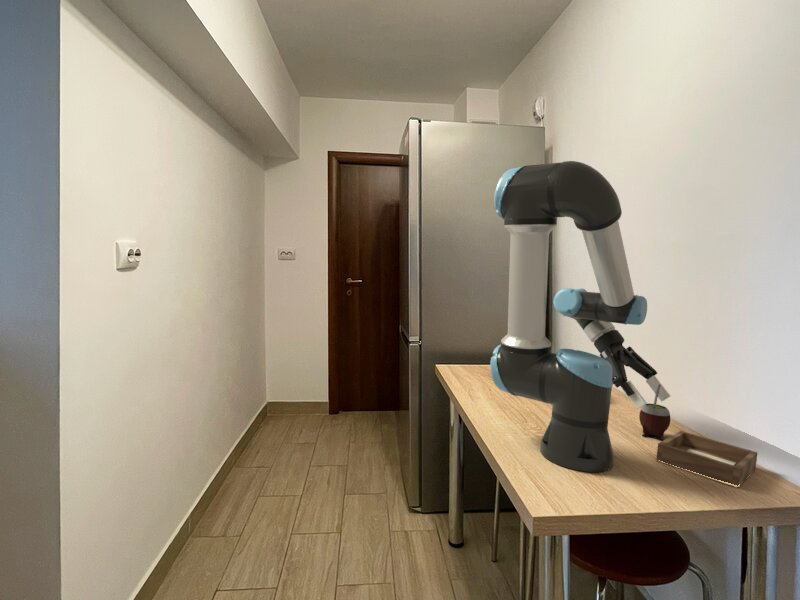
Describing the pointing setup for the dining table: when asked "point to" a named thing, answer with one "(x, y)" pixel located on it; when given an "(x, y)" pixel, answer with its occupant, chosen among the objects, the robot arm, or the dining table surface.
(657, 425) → the mate gourd
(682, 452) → the tray
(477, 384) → the dining table surface
